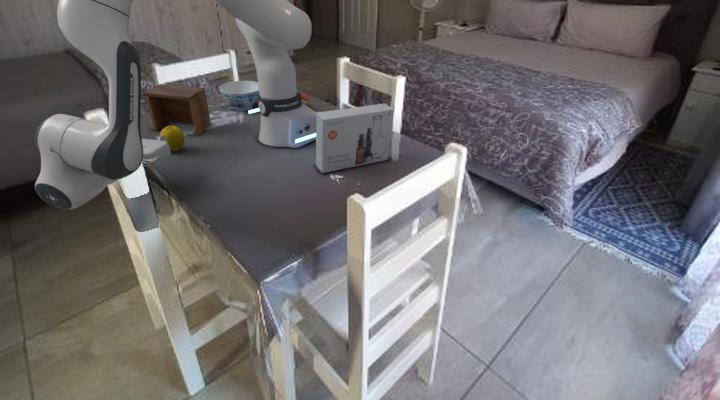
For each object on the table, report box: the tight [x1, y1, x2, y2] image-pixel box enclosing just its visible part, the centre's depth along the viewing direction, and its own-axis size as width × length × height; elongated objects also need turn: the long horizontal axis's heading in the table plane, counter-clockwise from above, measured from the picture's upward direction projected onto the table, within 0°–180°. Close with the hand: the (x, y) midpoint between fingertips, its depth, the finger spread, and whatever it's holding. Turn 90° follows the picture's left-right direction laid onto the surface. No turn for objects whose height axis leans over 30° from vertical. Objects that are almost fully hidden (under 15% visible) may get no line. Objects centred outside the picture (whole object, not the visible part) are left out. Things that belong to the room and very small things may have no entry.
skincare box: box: [315, 103, 395, 174], centre depth 108 cm, size 21×5×16 cm, turn 117°
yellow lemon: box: [159, 125, 185, 153], centre depth 113 cm, size 6×6×8 cm
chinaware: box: [218, 80, 259, 112], centre depth 144 cm, size 15×15×8 cm
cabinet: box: [142, 83, 212, 136], centre depth 125 cm, size 9×15×12 cm, turn 81°
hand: (144, 135), depth 100 cm, fingers open, 8 cm apart
